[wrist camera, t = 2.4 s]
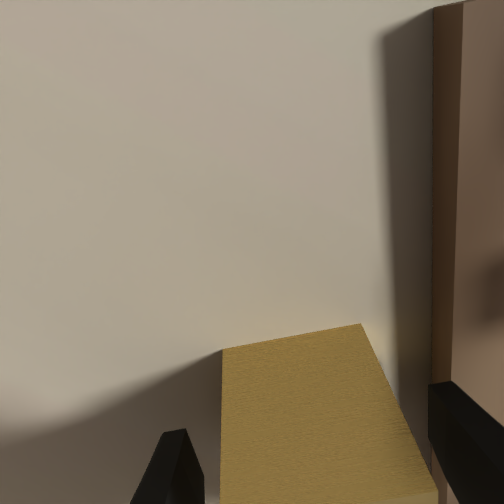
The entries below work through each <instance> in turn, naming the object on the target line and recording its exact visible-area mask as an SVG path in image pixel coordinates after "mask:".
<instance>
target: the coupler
mask: <svg viewBox="0 0 504 504" xmlns="http://www.w3.org/2000/svg"><path fill="white" fill-rule="evenodd" d="M220 504H438V489H437V487H436V485H435V483H434V480H433V478H432V476H431V474H430V472H429V470H428V468H427V465H426V463H425V461H424V459H423V457H422V455H421V452H420V450H419V448H418V446H417V444H416V442H415V439H414V437H413V435H412V433H411V431H410V429H409V426H408V424H407V422H406V420H405V418H404V416H403V413H402V411H401V409H400V407H399V405H398V403H397V400H396V398H395V396H394V394H393V392H392V390H391V387H390V385H389V383H388V381H387V379H386V377H385V374H384V372H383V370H382V368H381V366H380V364H379V362H378V359H377V357H376V355H375V353H374V351H373V349H372V346H371V344H370V342H369V340H368V338H367V336H366V333H365V331H364V329H363V327H362V325H361V323H360V324H354V325H349V326H344V327H338V328H333V329H328V330H322V331H317V332H312V333H306V334H301V335H296V336H290V337H285V338H280V339H274V340H269V341H264V342H258V343H253V344H248V345H242V346H237V347H232V348H226V349H223V359H222V411H221V462H220Z"/></svg>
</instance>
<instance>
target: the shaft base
mask: <svg viewBox="0 0 504 504" xmlns="http://www.w3.org/2000/svg"><path fill="white" fill-rule="evenodd" d="M447 381H453V382H454V383H456V384H457V385H458V386H459V387H460V388H461V389H462V390H463V391H464V392H465V393H467V394H468V395H469V396H470V397H471V398H472V399H473V400H474V401H475V402H476V403H478V404H479V405H480V406H481V407H482V408H483V409H484V410H485V411H486V412H488V413H489V414H490V415H491V416H492V417H493V418H494V419H496V420H497V421H498V422H499V423H500V424H501V425H503V426H504V0H466V1H461V2H456V3H452V4H447V5H443V6H438V7H434V37H433V242H432V384H435V383H441V382H447ZM431 476H432V478H433V480H434V483H435V485H436V487H437V489H438V504H459V502H458V501H457V499H456V497H455V495H454V493H453V491H452V489H451V488H450V486H449V484H448V482H447V480H446V478H445V476H444V474H443V471H442V469H441V467H440V464H439V462H438V460H437V457H436V455H435V452H434V450H433V447H432V446H431Z"/></svg>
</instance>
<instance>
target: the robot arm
mask: <svg viewBox="0 0 504 504" xmlns="http://www.w3.org/2000/svg"><path fill="white" fill-rule="evenodd" d="M428 437H429V440H430V442H431V445H432V447H433V450H434V452H435V455H436V457H437V460H438V462H439V464H440V467H441V469H442V471H443V474H444V476H445V478H446V480H447V482H448V484H449V486H450V488H451V489H452V491H453V493H454V495H455V497H456V499H457V501H458V502H459V504H504V426H503V425H501V424H500V423H499V422H498V421H497V420H496V419H494V418H493V417H492V416H491V415H490V414H489V413H488V412H486V411H485V410H484V409H483V408H482V407H481V406H480V405H479V404H478V403H476V402H475V401H474V400H473V399H472V398H471V397H470V396H469V395H468V394H467V393H465V392H464V391H463V390H462V389H461V388H460V387H459V386H458V385H457V384H456V383H454V382H453V381H447V382H441V383H435V384H430V385H428ZM130 504H205V495H204V475H203V472H202V469H201V467H200V464H199V462H198V459H197V456H196V454H195V451H194V449H193V446H192V443H191V441H190V438H189V436H188V433H187V430H186V428H185V429H179V430H174V431H168V432H164V433H163V434H162V435H161V437H160V440H159V442H158V444H157V447H156V449H155V451H154V454H153V456H152V458H151V460H150V463H149V465H148V467H147V469H146V471H145V473H144V476H143V478H142V480H141V482H140V484H139V486H138V488H137V490H136V492H135V494H134V496H133V498H132V500H131V502H130Z"/></svg>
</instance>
